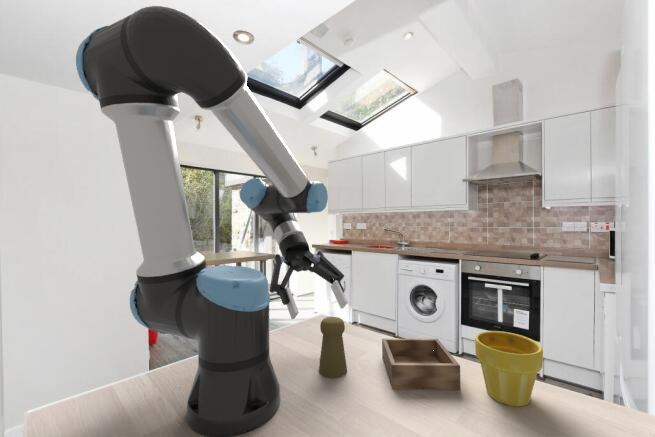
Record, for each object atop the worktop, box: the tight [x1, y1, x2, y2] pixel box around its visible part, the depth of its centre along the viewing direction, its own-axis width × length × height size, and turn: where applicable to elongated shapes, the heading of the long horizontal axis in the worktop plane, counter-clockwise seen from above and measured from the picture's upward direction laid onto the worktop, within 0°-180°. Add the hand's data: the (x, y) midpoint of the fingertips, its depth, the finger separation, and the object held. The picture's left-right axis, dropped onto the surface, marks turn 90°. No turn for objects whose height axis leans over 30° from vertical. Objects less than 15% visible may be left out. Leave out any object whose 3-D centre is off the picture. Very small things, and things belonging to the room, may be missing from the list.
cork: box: [318, 316, 348, 379], centre depth 64 cm, size 6×6×11 cm
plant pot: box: [474, 330, 544, 407], centre depth 54 cm, size 10×10×10 cm
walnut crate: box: [381, 338, 461, 391], centre depth 62 cm, size 13×13×4 cm
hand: (321, 310), depth 70 cm, fingers open, 13 cm apart
